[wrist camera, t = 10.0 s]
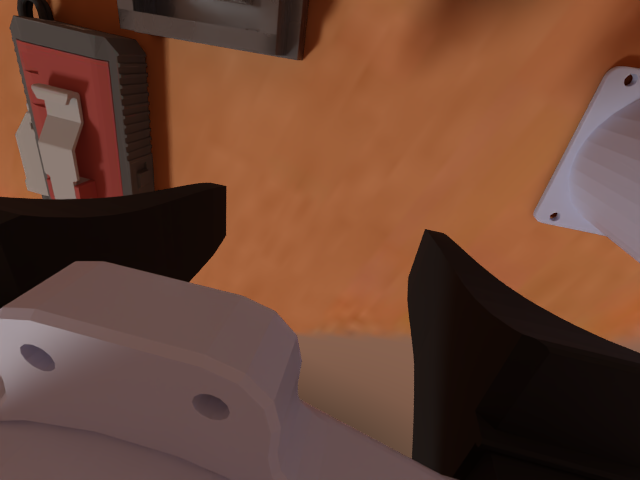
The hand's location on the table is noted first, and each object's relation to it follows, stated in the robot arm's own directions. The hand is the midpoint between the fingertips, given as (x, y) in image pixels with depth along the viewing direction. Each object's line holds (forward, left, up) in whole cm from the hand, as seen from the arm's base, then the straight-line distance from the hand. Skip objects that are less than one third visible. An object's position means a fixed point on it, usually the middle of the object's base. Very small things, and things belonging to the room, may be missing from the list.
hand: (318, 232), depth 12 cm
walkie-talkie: (+17, +4, -10) cm, 20 cm away
